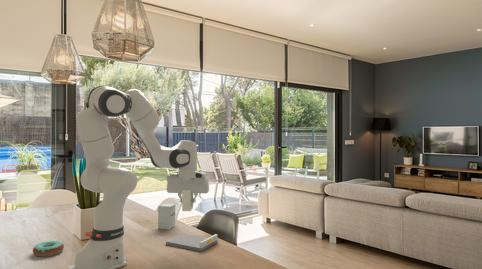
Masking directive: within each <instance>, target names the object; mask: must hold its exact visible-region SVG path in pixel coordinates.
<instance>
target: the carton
mask: <svg viewBox="0 0 482 269" xmlns="http://www.w3.org/2000/svg"><path fill="white" fill-rule="evenodd" d="M181 196H182V202H181V205H182V207H181V208H182V209H181V212H191V211H192V210H193V209H194V203H193V202H192V198H194V193H191V190H182V194H181Z"/></svg>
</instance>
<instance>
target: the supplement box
mask: <svg viewBox="0 0 482 269" xmlns="http://www.w3.org/2000/svg"><path fill="white" fill-rule="evenodd" d="M157 211H158V212H157V215H158V216H157V219H158V220H157V229H159V230H171V229H172V228H174V227H175V226H176V204H175V203H162V204H160V205H158V209H157Z"/></svg>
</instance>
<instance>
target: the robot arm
mask: <svg viewBox="0 0 482 269" xmlns="http://www.w3.org/2000/svg"><path fill="white" fill-rule="evenodd" d="M122 115H126V116H127V118H128V119H129V121H130V122H131V124H132V125H133V127H134V128H135V130H136V134H137V136H138V137H139V139H140V140H141V142H142V144H143V145H144V148H145V149H146V150H147V152H148V155H149V159H150V162H151V163H152V165H153V166H154V167H155V168H159V169H163V168H164V169H171V170H172V169H173V170H176V169H178V173H176V172H175V173H172V172H171V173H169V174H167V175H166V182H167V184H166V192H167V193H169V194H177V196H178V198H179V202H180V203H182V190H191V193H193V198H192V202H193V204H194V203H196V198H197V197H198V194H208V193H209V191H210V184H209V180H208V179H209V178H207V172H206V171H204V170H201V169H198V164H197V160H198V150H197V144H196V142H195V141H193V140H189V139H188V140H187V139H181V140H180V141H179V142H178V143H177V144H176V145H174V146H172V147H166V146H164V145H161V144H160V143H159V141H158V139H157V137H156V135H155V134H154V130H156V129H157V127H158V125H159V124H160V116H159V114H158V112H157V110H156V108H155V107H154V106H153V104H152V103H151V102H150V100H149V99H148V98H147V97H146V96H145V95H144V93H143V92H142V91H141V90H139V89H136V88H133V89H132V88H131V89H129V90H126V91H124V92H123V91H122V90H119V89H116V88H114V87H112V86H106V85H98V86H96V87H93V88H92V89H91V91H90V92H89V94H88V98H87V102H86V109H83V110H82V111H80V112H79V113H78V114H77V116H76V119H75V120H76V128H77V133H78V137H79V142H80V144H81V147H82V150H83V153H84V157H85V168H84V170H83V171H82V173H81V175H80V184H81V186H82V188H83V189H84V190H87V191H90V192H93V193H99V194H103V198H102V201H101V203H100V204H99V203H98V205H97V206H95V208H94V211H93V228H92V231H89V230H86V231H85V233H84V236H85V237H89V240H88V241H87V242H86V243H85V244H84V245H83V246H82V247H81V248H80V249H79V251H77V253H76V255H75V257H74V258H75V259H74V264H72V265H70V266H69V267H68V269H118V268H121V267H124V266H126V265H127V263H128V262H127V259H128V258H127V255H126V250H125V243H124V234H125V228H124V226H125V225H124V224H123V222H124V207H125V203H126V201H127V199H128V197H129V195H130V194H132V193H133V192H134V191H135V190H136V187H137V184H138V177H137V174H136V172H134V171H133V170H131V169H128V168H125V167H119V166H118V167H116V166H115V167H114V166H111V164H110V158H112V156H114V153H115V147H114V143H113V139H112V136H111V133H110V130H109V126H108V118H116V117H119V116H122Z"/></svg>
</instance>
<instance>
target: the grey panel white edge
mask: <svg viewBox="0 0 482 269" xmlns="http://www.w3.org/2000/svg"><path fill="white" fill-rule="evenodd" d="M217 243H218V234H217V233H215V234H213V235H212V236H209V237H205V236H198V235H193V234H189V233H181V234H180V235H177V236H175V237H173V238H170V239H168V240H166V241H165V245H166V246H172V247H176V248H182V249H187V250H191V251H195V252H196V251H197V252H204V251H205V250H208V249H209V248H210V247H212V246H215V245H216V244H217Z"/></svg>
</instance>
